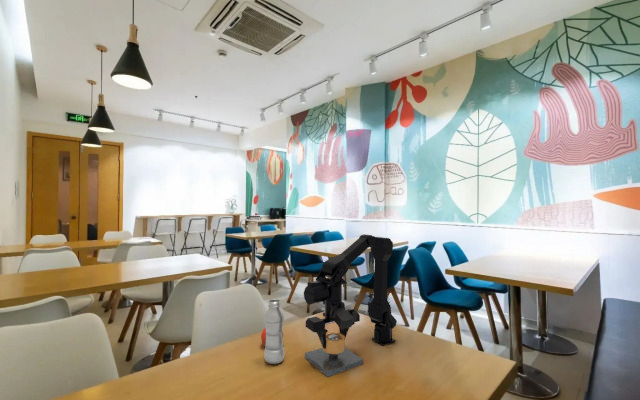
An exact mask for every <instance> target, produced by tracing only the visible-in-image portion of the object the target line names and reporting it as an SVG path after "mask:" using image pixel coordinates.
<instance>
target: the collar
mask: <svg viewBox="0 0 640 400" xmlns="http://www.w3.org/2000/svg"><path fill="white" fill-rule="evenodd" d="M332 334H334V335H337V336H338V340H329V335H332ZM345 340H346V338H345V336H344V335H342V334H341V333H340V332H335V331H334V332H333V331H330V332H327V333H326V349H324V348H323V347H322V348H323V350H324V351H325V352H326V353H329V354H339V353H342V352H344V348H346V347H345V346H346V345H345V344H346V342H345Z"/></svg>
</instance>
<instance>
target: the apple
mask: <svg viewBox="0 0 640 400" xmlns="http://www.w3.org/2000/svg"><path fill="white" fill-rule="evenodd" d="M283 338H284V331H283V332H282V339H283ZM260 339H261V342H262V344H263V345H264V346H265V345H266V328H263V330H262V332H261V335H260ZM283 340H284V339H283Z"/></svg>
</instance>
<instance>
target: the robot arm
mask: <svg viewBox="0 0 640 400" xmlns="http://www.w3.org/2000/svg"><path fill="white" fill-rule="evenodd" d="M368 248H370V254H371V255H372V258H373V260H374V272H373V273H374V275H373V298H372V299H371V301H368V302H367V312H366V313H367V314H368V317H369V319H370V322H371V323H372V324H374V329H373V337H372V338H371V340H372V341H373V342H376V343H378V344H380V345H382V346H386V345H390V344H392V343H395V342H396V339H394V338H393V329H394V328H395V327H396V326H397V322H398V321H397V319H396V318H395V317H394V315H393V314H392V307H391V304H390V302H389V300H388V265H389V263H388V262H389V260H390V258H391V256H392V255H393V249H394V242H393V241H392V240H391V238H389V237H381V236H374V235H373V234H361V235H359V238H357V239H356V240H355V241H354V242H352V244H351V245H349V246H348V247H347V248H346V249H344V250H343V251H342V252H341V253H340V254H337V255H336V256H335V255H334V256H332V257H330V258H328V259H326V260H325V261H324V262H323V263H322V265H321V269H320V271H319V273H318V274H317V276H316V278H315V281H308V282H307V285H306V286H305V288H304V291H303V299H304V301H305V303H306V304H307V305H314V304H319V303H322V304H323V305H324V312H322V317H324V318H319V317H318V316H313V317H308V318H307V319H306V320H305V328H306V329H308V330H309V331H311V332H312V333H316V335H317V337H318V340H319V341H320V344H321V347H322V348H324V349H326V333H329V332H328V331H329V330H328V329H327V328H326V325H330V324H334V323H335V324H336V325H337V326H338V330H339V333H341V334H342V335H344V336H345V339H346V337H347V334H348V332H349V330H350V328H352V326H354V325H355V324H356V323H357V322H360V321H361V319H360V318H361V316H360V313H359V312H358V311H357V310H356V309H355V308H353V309H351V308H347V309H346V307H345V302H344V301H343V285H347V284H348V281H346V280H345V279H344V277H345V276H346V274H347V273H348V272H349V269H350V265H351V264H352V263H353V262H354V261H356V260H357V259H358V258H359V257H360V256H361V255H362V254H363V253H364V252H365V251H366V250H367V249H368Z"/></svg>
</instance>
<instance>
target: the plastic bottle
mask: <svg viewBox="0 0 640 400" xmlns="http://www.w3.org/2000/svg"><path fill="white" fill-rule="evenodd" d="M280 307H281V300H280V299H277V298H275V299H270V300H269V301H268V309H267V310H266V312H265V313H264V317H263V319H264V326H265V328H266V345H264V346H265V348H264V353H263V356H264V360H265V361H266V363H267V364H271V365H277V364H279V363H280V364H281V362H283V361H284V359H285V358H284V357H285V349H284V348H285V347H284V342H283V340H284V339H282V332H283V333H284V331H283V330H284V328H283V327H284V321H285V315H284V312H283V311H282V309H281V308H280ZM265 328H264V329H265Z"/></svg>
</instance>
